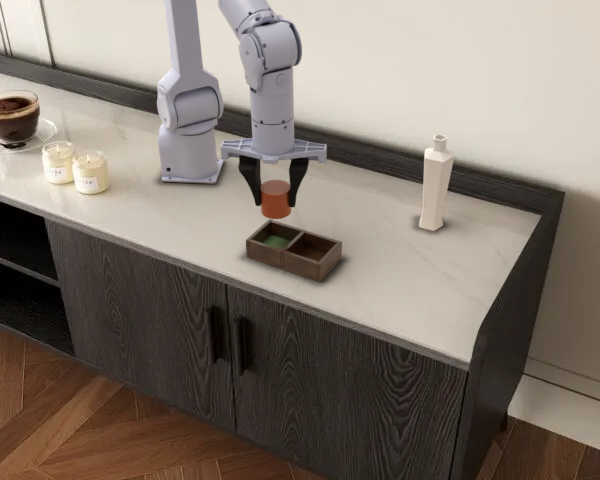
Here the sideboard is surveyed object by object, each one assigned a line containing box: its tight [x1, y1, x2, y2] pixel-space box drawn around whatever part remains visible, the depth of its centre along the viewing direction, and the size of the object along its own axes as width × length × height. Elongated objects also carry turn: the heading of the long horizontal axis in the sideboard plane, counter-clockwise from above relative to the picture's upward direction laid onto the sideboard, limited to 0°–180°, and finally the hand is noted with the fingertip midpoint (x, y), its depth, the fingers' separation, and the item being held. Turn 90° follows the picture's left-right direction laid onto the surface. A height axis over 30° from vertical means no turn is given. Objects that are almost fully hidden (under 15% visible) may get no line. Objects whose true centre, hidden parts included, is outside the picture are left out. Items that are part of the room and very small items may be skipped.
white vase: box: [418, 133, 455, 232], centre depth 116 cm, size 5×4×15 cm
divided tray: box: [245, 218, 343, 283], centre depth 113 cm, size 13×7×3 cm, turn 60°
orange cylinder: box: [260, 179, 292, 220], centre depth 110 cm, size 4×4×4 cm
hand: (275, 203), depth 110 cm, fingers closed on orange cylinder, 4 cm apart
